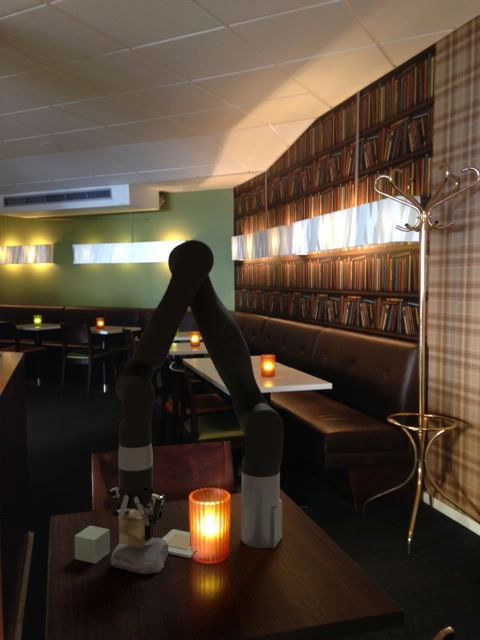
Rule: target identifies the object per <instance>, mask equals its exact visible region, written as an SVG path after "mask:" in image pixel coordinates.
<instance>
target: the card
mask: <svg viewBox="0 0 480 640" xmlns="http://www.w3.org/2000/svg"><path fill="white" fill-rule="evenodd" d="M190 533H191V532H189V531H183V530H180V529H173V528H172V529H171V530H170V531H169V532H168V533H166V535H164V536H163V537H162V538H161V539H163V540H166V542H167V543H168V555H173V556H177V557H178V556H179V557H182V558H183V557H184V558H187V559H191V558H192V557H193V556H194V555H195V554H194V553H193V552H192V551H191V546H190Z"/></svg>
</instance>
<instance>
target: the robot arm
mask: <svg viewBox="0 0 480 640" xmlns="http://www.w3.org/2000/svg"><path fill="white" fill-rule="evenodd" d="M167 260H168V261H167V264H168V269H169V272H170V274H171V276H170V279H169V282H168V286H167V287H166V290H165V292H164V293H163V295H162V298H161V300H160V301H159V303H158V305H157V306H156V308H155V309H154V311H153V312H152V314H151V316H150V318H149V319H148V321H147V323H146V325H145V326H144V328H143V331H142V333H141V335H140V337H139V340H138V342H137V344H136V347H135V350H134V352H133V354H132V355H131V357H130V358H129V359H128V361H127V363H126V364H125V365H124V367H123V369H122V371H121V373H120V374H119V375H118V379H117V381H116V384H115V394H116V396H117V398H118V400H120V401H121V402H122V407H123V411H122V412H123V414H122V419H120V422H119V426H118V427H119V428H118V432H119V433H118V442H119V443H118V445H119V446H118V447H119V448H118V457H117V458H118V459H117V461H118V485H119V487H117V486H115V487H112V488H111V489H109V490H108V491H107V497H108V503H109V508H110V512H111V513H110V514H111V516H112V517H113V518H114V517H116V518H117V519H118V520H119V519H120V518H121V517H123V516H125V514H127V513H129V512H130V511H131V510H132V509H135V510H139V513H140V516H142V517H143V520H144V523H145V541H149V540H150V539H151V538H152V537H153V536H155V525H156V524H157V523H159V522H160V521H161V520H162V518H163V516H164V515H163V514H164V510H165V509H164V508H165V503H166V495H165V494H160V495H159V494H156V493H155V491H154V488H153V483H154V457H153V455H154V454H153V452H154V451H153V450H154V449H153V446H152V445H153V444H152V420H153V415H154V409H155V403H156V395H155V394H156V393H155V386H154V385H153V383H152V381H151V379H152V377H153V375H154V373H155V371H156V370H157V369H160V368H162V366H163V365H164V363H165V361H166V359H167V357H168V354H169V352H170V349H171V347H172V346H173V343H174V341H175V338H176V336H177V333H178V331H179V328H180V326H181V324H182V323H183V321H184V318H185V315H186V313H187V312H188V310H189V309H190V310H191V311H190V312H191V315H192V317H193V319H194V323H195V325H196V327H197V330H198V332H199V334H200V337H201V340H202V342H203V345H204V347H205V349H206V352H207V353H208V354H207V355H208V356H209V359H210V360H211V363H212V365H213V367H214V369H215V371H216V372H217V374H218V376H219V378H220V380H221V381H222V383H223V385H224V387H225V389H226V390H227V393H228V395H229V397H230V400H231V402H232V405H233V408H234V411H235V414H236V418H237V422H238V425H239V427H240V430H241V432H242V433H243V435H244V436H245V437H244V438H245V439H244V441H245V442H244V443H245V444H244V457H243V458H242V460H241V532H240V533H241V541H242V543H243V544H244V545H246V546H247V547H251V548H256V549H269V548H271V549H275V548H277V545H278V544H279V543H280V541H281V539H282V538H283V500H282V499H280V497H281V493H280V491H281V489H280V488H281V484H280V482H281V481H280V480H281V479H280V478H281V473H280V472H281V469H280V468H281V463H282V461H283V456H284V454H283V452H284V451H283V450H284V423H283V419H282V417H281V416H280V413H278V412H277V411H276V410H275V409H273V408H272V407H271V406H270V405H269V403H268V401H267V400H266V398H265V397H264V394H263V392H262V390H261V388H260V387H259V385H258V383H257V379H256V378H255V373H254V367H253V362H252V358H251V353H250V350H249V347H248V344H247V341H246V340H245V337H244V335H243V332H242V330H241V328H240V326H239V324H238V322H237V320H236V319H235V317H234V316H233V315H232V313H231V312H230V310H228V308H227V307H226V306H225V304H224V303H223V301H222V300H221V299H220V297H219V296H218V293H217V292H216V290H215V288H214V285H213V282H212V280H211V277H210V272H211V271H212V269H213V267H214V263H215V257H214V252H213V251H212V248H211V247H210V246H209V245H208V244H207V243H206V242H204V241H203V240H199V239H190V240H186V241H184V242H181V243H180V244H178V245H176V246H175V247H173V248H172V250H171V251H170V253H169V255H168V258H167ZM121 499H122V501H121ZM151 501H152V502H151ZM121 502H122V503H121ZM148 516H149V517H148ZM153 538H154V537H153Z"/></svg>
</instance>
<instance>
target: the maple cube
mask: <svg viewBox="0 0 480 640" xmlns="http://www.w3.org/2000/svg"><path fill="white" fill-rule="evenodd" d="M148 517H149V516H148ZM118 533H119V535H118V537H119V538H118V539H119V540H118V541H119V543H121V544H126V545H130V546H135V547H140V548H141V547H142V546H143V545H145V544H146V543H147V542H148V541H145V523H144V520H143V517H142V516H140V513H139V510H136V509H131V510H130V512H129V513H127V514H125V516H123V517H121V518H120V519H118ZM154 536H155V535H154ZM154 536H153V537H152V538H155V537H154ZM119 543H118V544H119Z"/></svg>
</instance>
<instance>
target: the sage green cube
mask: <svg viewBox="0 0 480 640" xmlns="http://www.w3.org/2000/svg"><path fill="white" fill-rule="evenodd" d="M110 536H111V535H110V529H108V528H105V527H104V528H103V527H99V526H95V525H89V526H86V528H84V529H82V530H81V531H80V532H78V533H76V534H75V535H74V559H75V560H79V561H82V562H87V563H91V564H97V563H98V562H99V561H102V559H103V558H105V557H106V556H107V555H108V554H109V553H110V552H111V544H110V543H111V537H110Z"/></svg>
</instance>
